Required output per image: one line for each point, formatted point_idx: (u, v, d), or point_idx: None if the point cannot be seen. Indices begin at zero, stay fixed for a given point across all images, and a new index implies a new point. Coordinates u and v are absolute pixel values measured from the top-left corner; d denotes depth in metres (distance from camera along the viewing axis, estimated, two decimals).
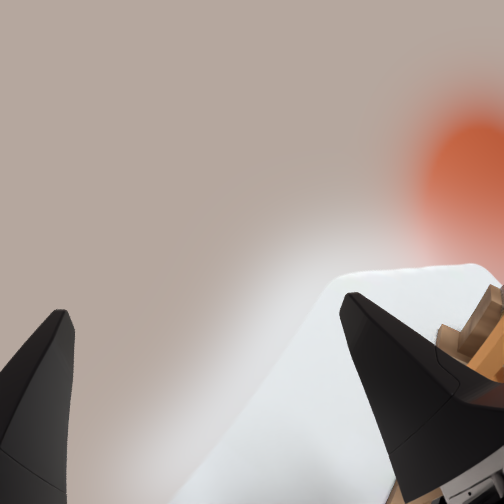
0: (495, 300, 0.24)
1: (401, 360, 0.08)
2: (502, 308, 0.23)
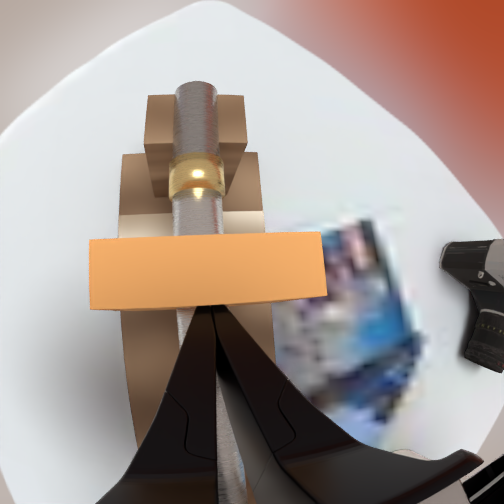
0: (155, 136, 0.14)
1: (237, 392, 0.07)
2: None
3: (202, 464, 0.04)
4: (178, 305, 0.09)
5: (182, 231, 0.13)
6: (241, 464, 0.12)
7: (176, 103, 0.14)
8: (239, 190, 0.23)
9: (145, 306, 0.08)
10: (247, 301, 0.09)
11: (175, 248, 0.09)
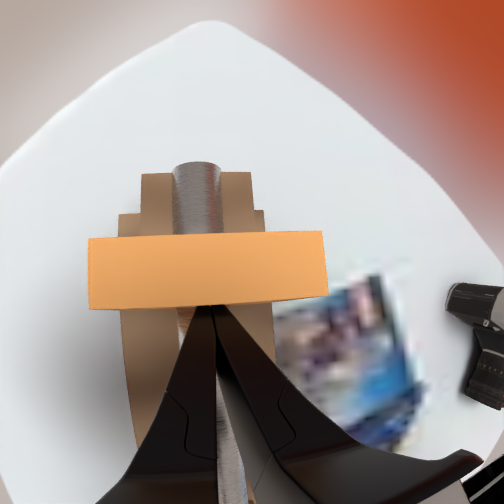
0: (152, 229, 0.13)
1: (237, 392, 0.07)
2: None
3: (202, 464, 0.04)
4: (178, 305, 0.09)
5: None
6: None
7: (174, 189, 0.13)
8: None
9: (144, 306, 0.08)
10: (248, 301, 0.09)
11: (175, 247, 0.09)
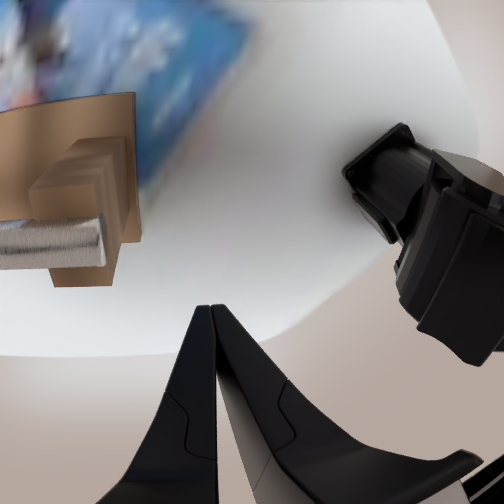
0: None
1: (237, 392, 0.07)
2: None
3: (202, 464, 0.04)
4: None
5: None
6: None
7: None
8: None
9: None
10: None
11: None
